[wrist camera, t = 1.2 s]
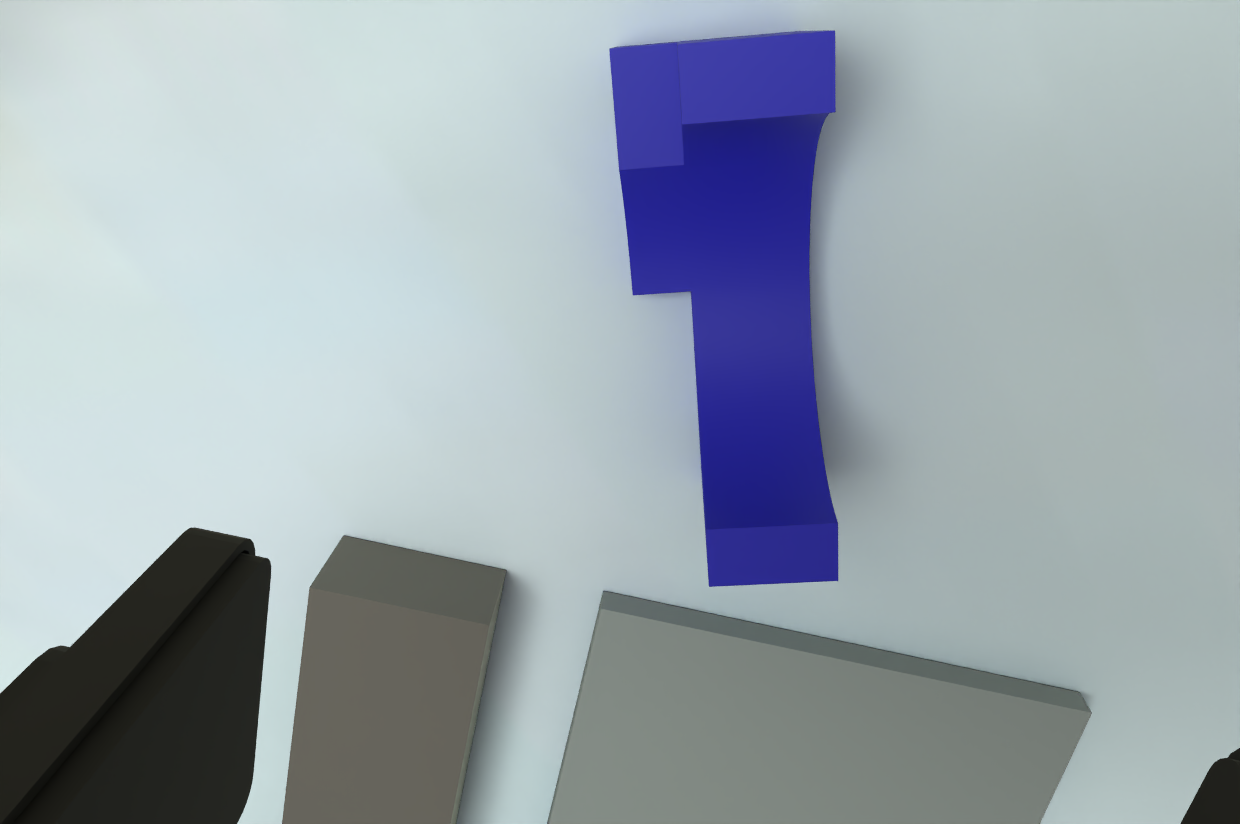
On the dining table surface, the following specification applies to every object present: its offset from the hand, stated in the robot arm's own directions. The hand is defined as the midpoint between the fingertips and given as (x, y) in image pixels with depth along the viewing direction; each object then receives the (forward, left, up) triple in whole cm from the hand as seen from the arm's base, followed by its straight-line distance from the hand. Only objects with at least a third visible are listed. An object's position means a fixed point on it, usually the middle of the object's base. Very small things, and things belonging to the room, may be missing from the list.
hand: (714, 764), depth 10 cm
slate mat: (-7, +18, -18) cm, 27 cm away
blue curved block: (-1, -1, -19) cm, 19 cm away
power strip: (+6, +17, -18) cm, 26 cm away
